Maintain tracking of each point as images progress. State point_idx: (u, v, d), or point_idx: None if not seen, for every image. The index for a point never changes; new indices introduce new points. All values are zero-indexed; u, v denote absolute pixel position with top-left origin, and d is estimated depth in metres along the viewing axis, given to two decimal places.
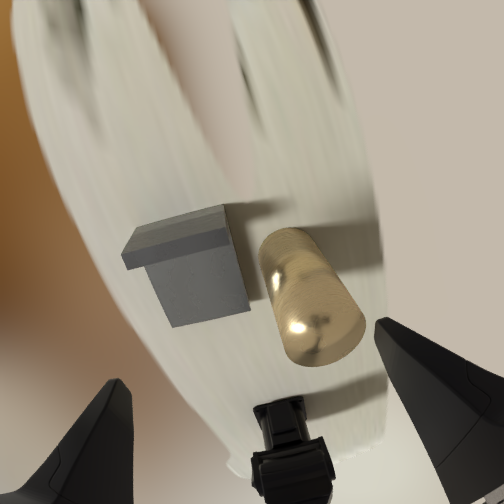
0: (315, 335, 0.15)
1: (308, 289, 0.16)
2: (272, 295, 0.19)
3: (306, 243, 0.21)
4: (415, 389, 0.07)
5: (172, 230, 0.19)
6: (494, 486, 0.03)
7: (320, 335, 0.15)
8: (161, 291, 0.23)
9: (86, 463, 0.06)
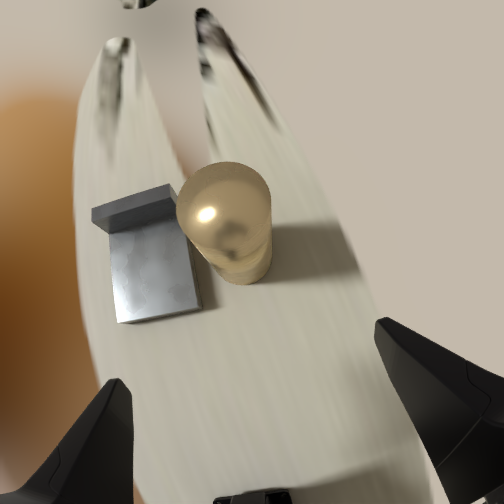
0: (208, 197, 0.15)
1: None
2: None
3: None
4: (415, 389, 0.07)
5: None
6: (494, 486, 0.03)
7: (215, 197, 0.15)
8: (117, 276, 0.23)
9: (86, 462, 0.06)
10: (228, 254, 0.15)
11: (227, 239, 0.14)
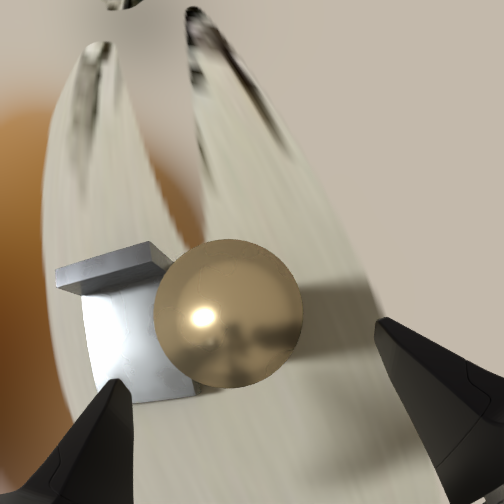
0: (203, 303, 0.09)
1: None
2: None
3: None
4: (415, 389, 0.07)
5: None
6: (494, 486, 0.03)
7: (213, 303, 0.09)
8: (94, 350, 0.17)
9: (86, 462, 0.06)
10: None
11: (236, 374, 0.09)
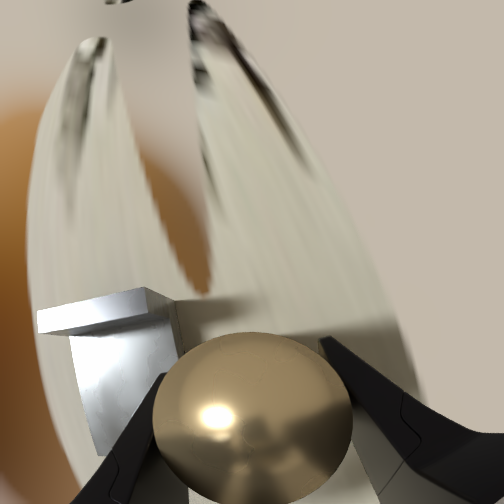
0: (220, 418, 0.06)
1: None
2: None
3: None
4: None
5: None
6: None
7: (234, 420, 0.06)
8: (87, 398, 0.14)
9: (147, 466, 0.06)
10: None
11: (264, 496, 0.05)
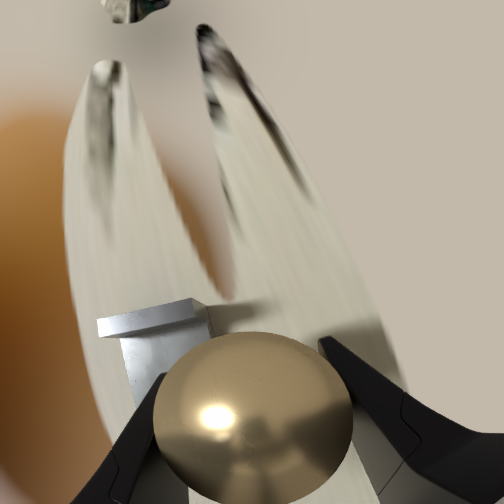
0: (220, 417, 0.06)
1: None
2: None
3: None
4: None
5: None
6: None
7: (234, 419, 0.06)
8: (136, 388, 0.19)
9: (146, 466, 0.06)
10: None
11: (264, 496, 0.05)
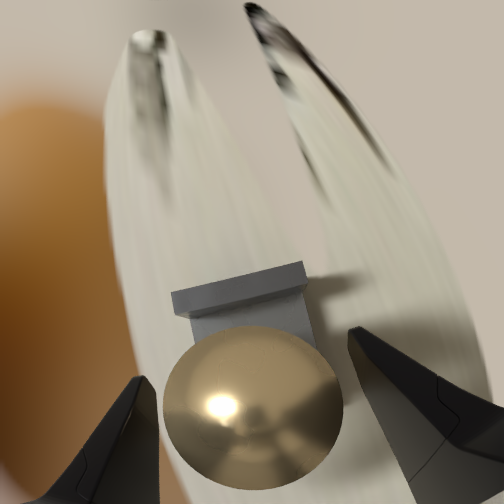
0: (224, 403, 0.07)
1: None
2: None
3: None
4: (385, 402, 0.07)
5: None
6: None
7: (236, 404, 0.07)
8: None
9: (114, 465, 0.06)
10: None
11: (263, 477, 0.06)
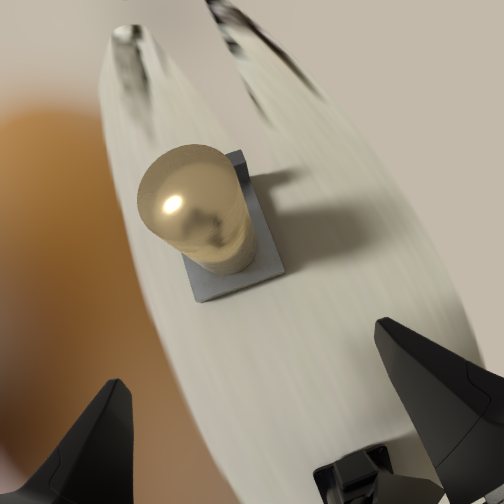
0: (170, 185, 0.13)
1: None
2: None
3: None
4: (415, 389, 0.07)
5: None
6: (494, 486, 0.03)
7: (176, 185, 0.13)
8: None
9: (86, 462, 0.06)
10: (197, 245, 0.13)
11: (192, 229, 0.12)
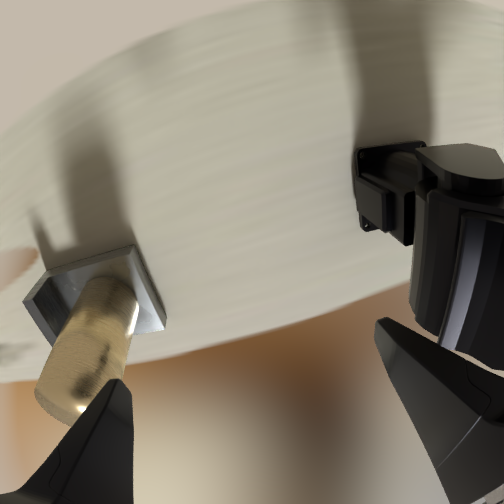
0: (73, 416, 0.12)
1: None
2: None
3: None
4: (415, 389, 0.07)
5: None
6: (494, 486, 0.03)
7: (71, 413, 0.12)
8: None
9: (86, 462, 0.06)
10: None
11: None
